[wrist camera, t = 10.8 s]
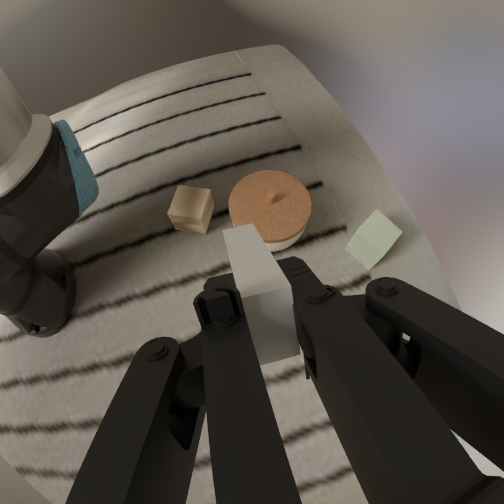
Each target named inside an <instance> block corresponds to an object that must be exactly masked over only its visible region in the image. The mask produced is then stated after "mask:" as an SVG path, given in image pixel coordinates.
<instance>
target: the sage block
mask: <svg viewBox="0 0 504 504" xmlns="http://www.w3.org/2000/svg"><path fill="white" fill-rule="evenodd" d="M401 233H402V231H401V230H400V229H399V228H397V227H396V226H395V225H394V224H393V223H392V222H391V221H390V220H389V219H388V218H386V217H385V216H384V215H383V214H382V213H381V212H380V211H379V210H377V209H376V210H375V211H374V212H373V213H372V214H371V215H370V216H369V218H368V219H367V220H366V221H365V222H364V223H363V224H362V225H361V226H360V227H359V228H358V229H357V231H356V232H355V234H354V235H353V237H352V239H351V240H350V242H349V243H348V245H347V246H346V249H347V250H348V251H349V252H350V253H351V254H352V255H354V256H355V257H356V258H357V259H358V260H359V261H360V262H361V263H362V264H363V265H364V266H365V267H366V268H367V269H369V270H370V269H371V268H372V267H373V266H374V265H375V264H376V263H377V262H378V261H379V260H380V259H381V258H382V257H383V256H384V255H385V254H386V253H387V251H388V250H389V249H390V248H391V246H392V245H393V244H394V242H395V241H396V240H397V239H398V237H399V236H400V235H401Z"/></svg>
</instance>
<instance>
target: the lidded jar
mask: <svg viewBox="0 0 504 504" xmlns="http://www.w3.org/2000/svg"><path fill="white" fill-rule="evenodd" d="M228 204H229V213H230V217H231V219H232V223H233V226H234V227H238V226H243V225H247V224H251V223H253V225H254V226H255V228H256V230H257V231H258V233H259V234H260V236H261V238H262V239H263V241H264V242H265V244H266V246H267V247H268V249H269V251H270V252H275V251H280V250H283V249H285V248H287V247H289V246H291V245H292V244H293V243H295V242H296V241H297V240H298V238H299V237H300V236H301V235H302V233H303V231H304V230H305V227H306V225H307V223H308V221H309V219H310V216H311V212H312V201H311V197H310V194H309V192H308V190H307V189H306V187H305V186H304V185H303V184H302V183H301V182H300V181H299V180H298V179H297V178H295V177H294V176H292V175H290V174H288V173H285V172H282V171H277V170H261V171H256V172H254V173H251V174H249V175H247V176H245V177H244V178H242V179H241V180H240V181H239V182H238V183H237V184H236V185H235V186H234V188H233V189H232V191H231V194H230V197H229V202H228Z"/></svg>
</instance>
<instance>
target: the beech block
mask: <svg viewBox="0 0 504 504" xmlns="http://www.w3.org/2000/svg"><path fill="white" fill-rule="evenodd" d="M213 210H214V203H213V198H212V194H211V190H210V189H206V188H199V187H191V186H183V185H178V187H177V189H176V192H175V194H174V197H173V200H172V202H171V205H170V208H169V210H168V213H167V214H168V216H169V218H170V220H171V222H172V224H173V226H174V227H175V229H176V230H181V231H187V232H193V233H199V234H205V235H206V234H207V230H208V227H209V223H210V220H211V217H212V213H213Z"/></svg>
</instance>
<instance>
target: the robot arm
mask: <svg viewBox="0 0 504 504" xmlns="http://www.w3.org/2000/svg"><path fill="white" fill-rule="evenodd" d="M98 193H99V187H98V184H97V181H96V178H95V176H94V174H93V172H92V170H91V167H90V165H89V163H88V161H87V159H86V157H85V155H84V154H83V152H82V151H81V148H80V146H79V144H78V141H77V139H76V137H75V135H74V134H73V132H72V130H71V128H70V126H69V125H68V123H67V122H66V121H65V120H60V121H57V122H55V123H54V124H53V123H52V121H51V120H50V118H49V117H48V116H46V115H44V114H32V115H31V114H30V113H29V112H28V110H27V109H26V107H25V105H24V104H23V103H22V101H21V99H20V98H19V96H18V95H17V93H16V91H15V90H14V88H13V87H12V85H11V83H10V82H9V80H8V78H7V77H6V75H5V73H4V72H3V70H2V68H1V66H0V314H2V315H5V316H6V317H7V318H8V319H9V320H10V321H11V322H12V323H13V324H15V325H16V326H17V327H18V328H19V329H20V330H21V331H23V332H24V333H26V334H28V335H32V336H35V337H40V338H43V337H48V336H51V335H53V334H54V333H56V332H57V331H58V330H59V329H60V328H61V327H62V326H63V325H64V324H65V322H66V321H67V319H68V317H69V315H70V313H71V310H72V307H73V304H74V299H75V291H76V284H75V277H74V273H73V270H72V268H71V266H70V264H69V263H68V261H67V260H66V259H65V258H64V257H62V256H61V255H60V254H58V253H57V252H55V251H53V250H50V249H45V247H46V246H47V245H48V244H49V243H50V242H51V241H53V240H54V239H55V238H56V237H57V236H58V235H59V234H60V233H61V232H62V231H64V230H65V229H66V228H67V227H68V226H69V225H70V224H72V223H73V222H74V221H75V220H76V219H77V218H79V217H81V215H82V213H83V212H84V211H85V210H86V209H87V208H88V207H89V206H90V205H91V204H92V203H94V202H95V200H96V199H97V196H98ZM222 231H223V235H224V239H225V243H226V247H227V251H228V255H229V260H230V264H231V268H232V272H233V273H229V274H224V275H220V276H216V277H212V278H208V280H207V281H206V283H205V284H204V291H203V292H201V293H199V294H198V295H197V296H196V297H195V299H194V302H193V305H194V308H195V310H196V313H197V316H198V319H199V322H200V325H201V332H200V333H199V334H198V335H196V336H195V337H193V338H192V339H190V340H188V341H185V342H183V343H181V344H178V342H177V340H175V339H173V338H171V337H159V338H155V339H152V340H150V341H148V342H146V343H145V344H144V345H142V346H141V347H140V349H139V350H138V351H137V353H136V355H135V357H134V358H133V360H132V362H131V364H130V366H129V368H128V370H127V372H126V374H125V376H124V378H123V380H122V382H121V383H120V385H119V387H118V389H117V391H116V393H115V395H114V397H113V399H112V401H111V403H110V405H109V407H108V409H107V412H106V414H105V416H104V418H103V420H102V422H101V424H100V426H99V428H98V430H97V432H96V435H95V437H94V439H93V441H92V443H91V445H90V447H89V450H88V452H87V454H86V456H85V459H84V461H83V463H82V465H81V468H80V470H79V472H78V474H77V477H76V479H75V481H74V484H73V486H72V489H71V491H70V493H69V496H68V498H67V501H66V503H65V504H186V500H187V495H188V490H189V486H190V481H191V476H192V472H193V467H194V463H195V458H196V453H197V449H198V444H199V440H200V435H201V431H202V426H203V422H204V417H205V413H207V424H208V435H209V445H210V455H211V464H212V473H213V481H214V489H215V496H216V504H302V502H301V499H300V496H299V493H298V490H297V487H296V483H295V480H294V477H293V474H292V471H291V468H290V465H289V461H288V458H287V455H286V452H285V449H284V445H283V442H282V439H281V436H280V432H279V429H278V426H277V422H276V419H275V416H274V412H273V409H272V406H271V402H270V399H269V396H268V392H267V389H266V385H265V382H264V378H263V375H262V372H261V368H260V365H263V364H267V363H271V362H275V361H278V360H282V359H285V358H289V357H292V356H296V355H299V354H300V347H301V349H302V351H303V354H304V362H305V371H306V379H310V377H311V379H312V381H313V383H314V385H315V387H316V390H317V392H318V394H319V396H320V398H321V400H322V403H323V405H324V407H325V409H326V411H327V414H328V416H329V418H330V420H331V422H332V424H333V427H334V429H335V431H336V433H337V435H338V438H339V440H340V442H341V444H342V446H343V448H344V451H345V453H346V455H347V457H348V459H349V462H350V464H351V466H352V468H353V470H354V472H355V475H356V477H357V479H358V481H359V483H360V486H361V488H362V490H363V492H364V494H365V496H366V499H367V501H368V503H369V504H504V478H502V477H500V476H486V475H485V474H483V473H482V472H481V471H480V470H479V469H478V468H477V466H476V465H475V463H474V462H473V461H472V459H471V458H470V457H469V455H468V453H467V452H466V451H465V449H464V448H463V446H462V445H461V444H460V442H459V441H458V439H457V438H456V437H455V435H454V434H453V433H452V431H453V432H455V433H456V434H457V435H458V436H460V437H461V438H462V439H463V440H465V441H466V442H467V443H468V444H470V445H471V446H472V447H473V448H475V449H476V450H477V451H478V452H480V453H481V454H482V455H484V456H485V457H486V458H487V459H489V460H490V461H491V462H492V463H494V464H495V465H496V466H497V467H499V468H500V469H501V470H502V471H504V335H503V334H502V333H500V332H498V331H496V330H494V329H493V328H491V327H489V326H487V325H485V324H484V323H482V322H480V321H478V320H476V319H475V318H473V317H471V316H469V315H467V314H465V313H463V312H462V311H460V310H458V309H456V308H454V307H452V306H450V305H448V304H447V303H445V302H443V301H441V300H439V299H437V298H435V297H433V296H431V295H429V294H427V293H425V292H423V291H421V290H419V289H417V288H416V287H414V286H412V285H410V284H408V283H406V282H404V281H402V280H399V279H396V278H390V277H382V278H378V279H375V280H372V281H371V282H370V283H368V284H367V286H366V294H362V295H352V296H343V295H342V294H341V293H340V291H339V290H338V289H336V288H335V287H333V286H329V285H323V284H322V283H321V281H320V280H319V279H318V278H317V277H316V275H315V274H314V273H313V272H312V271H311V269H310V268H309V267H308V266H307V264H306V263H305V262H304V261H303V260H302V259H299V258H297V257H295V256H293V257H289V258H285V259H281V260H277V261H276V260H275V259H274V257H273V255H272V254H271V252H270V251H269V249H268V247H267V246H266V244H265V242H264V241H263V239H262V238H261V236H260V234H259V233H258V231H257V230H256V228H255V226H254V225H253V223H251V224H247V225H243V226H238V227H234V228H230V229H226V230H222ZM403 333H405V334H407V335H408V336H410V341H408V340H405V339H404V338H402V337H403ZM299 344H300V347H299ZM309 374H310V375H309ZM449 428H450V429H451V430H452V431H451V430H450V429H449Z"/></svg>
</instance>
